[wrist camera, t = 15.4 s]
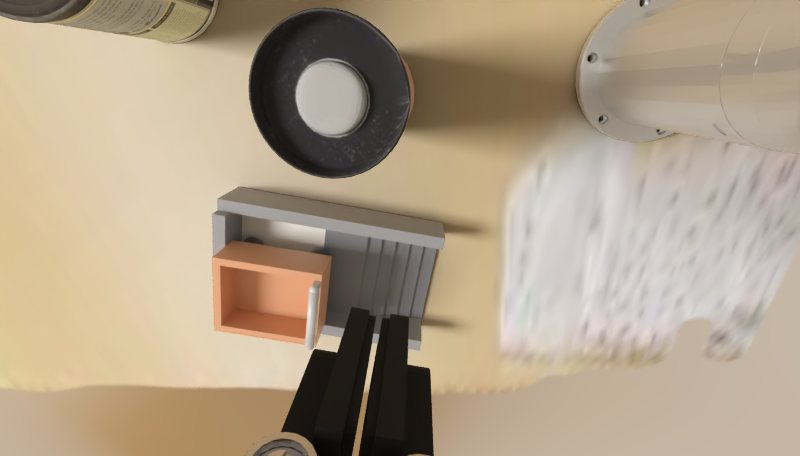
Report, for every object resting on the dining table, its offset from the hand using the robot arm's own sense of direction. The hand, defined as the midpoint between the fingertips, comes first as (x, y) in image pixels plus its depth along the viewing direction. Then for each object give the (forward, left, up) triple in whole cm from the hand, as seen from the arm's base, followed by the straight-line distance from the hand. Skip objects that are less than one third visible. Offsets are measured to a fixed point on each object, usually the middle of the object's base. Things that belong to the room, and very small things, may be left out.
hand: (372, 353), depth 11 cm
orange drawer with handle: (+11, +14, -27) cm, 32 cm away
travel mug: (+4, -6, -29) cm, 30 cm away
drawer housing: (+6, +12, -29) cm, 32 cm away
